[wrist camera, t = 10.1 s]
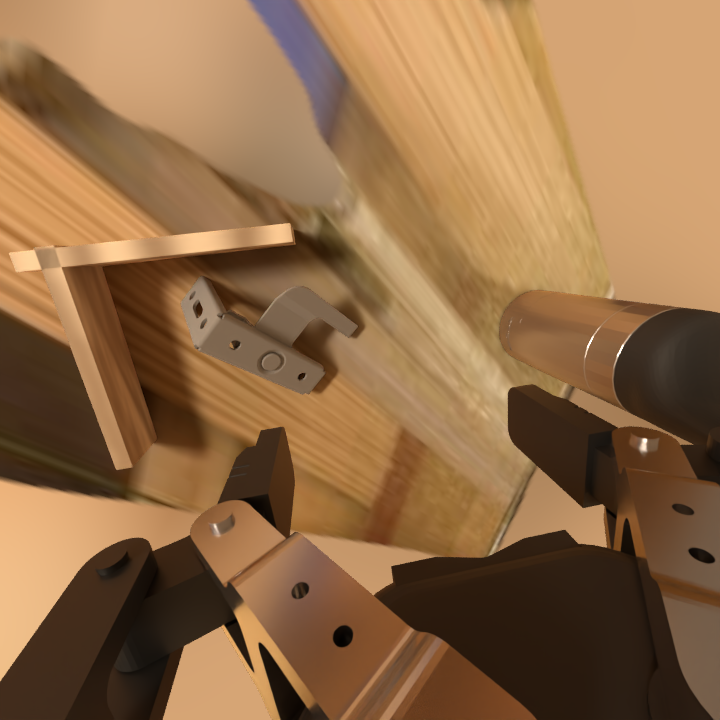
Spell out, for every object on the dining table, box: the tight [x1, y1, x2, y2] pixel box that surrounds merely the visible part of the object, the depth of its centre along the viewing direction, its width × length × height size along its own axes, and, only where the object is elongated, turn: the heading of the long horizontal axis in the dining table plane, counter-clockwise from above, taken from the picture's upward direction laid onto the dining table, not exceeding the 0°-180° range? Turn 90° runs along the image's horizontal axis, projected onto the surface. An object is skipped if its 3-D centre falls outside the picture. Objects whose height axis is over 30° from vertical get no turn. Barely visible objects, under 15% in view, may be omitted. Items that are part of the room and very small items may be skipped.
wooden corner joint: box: [9, 223, 296, 470], centre depth 36 cm, size 24×22×6 cm
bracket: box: [181, 276, 358, 394], centre depth 38 cm, size 10×14×10 cm
